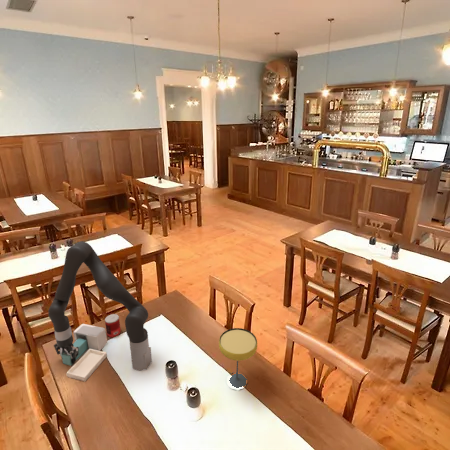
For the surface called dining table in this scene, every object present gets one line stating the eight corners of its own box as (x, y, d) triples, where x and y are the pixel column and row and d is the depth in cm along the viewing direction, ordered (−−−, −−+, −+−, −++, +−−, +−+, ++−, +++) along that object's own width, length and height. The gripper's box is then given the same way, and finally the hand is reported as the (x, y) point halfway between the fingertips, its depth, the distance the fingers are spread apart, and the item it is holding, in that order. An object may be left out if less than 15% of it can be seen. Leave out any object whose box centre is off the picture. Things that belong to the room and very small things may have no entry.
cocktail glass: (241, 403, 142) (243, 360, 134) (211, 383, 152) (210, 342, 144) (262, 378, 156) (264, 337, 147) (232, 361, 166) (233, 322, 157)
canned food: (122, 329, 190) (120, 314, 186) (117, 338, 182) (115, 322, 179) (110, 328, 190) (108, 313, 187) (104, 337, 183) (102, 321, 179)
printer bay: (107, 342, 179) (105, 327, 175) (99, 351, 172) (96, 336, 169) (85, 337, 183) (82, 323, 179) (76, 346, 176) (73, 331, 172)
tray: (107, 356, 169) (106, 352, 168) (85, 381, 153) (84, 377, 152) (90, 352, 172) (89, 348, 171) (67, 376, 156) (66, 372, 155)
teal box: (87, 348, 174) (86, 339, 172) (71, 365, 162) (69, 355, 160) (80, 346, 176) (78, 337, 173) (63, 363, 164) (61, 353, 162)
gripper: (80, 333, 160) (85, 359, 166) (57, 327, 164) (63, 353, 170) (70, 342, 153) (75, 369, 159) (46, 337, 157) (52, 363, 163)
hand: (69, 361), depth 164 cm, fingers closed on teal box, 5 cm apart
